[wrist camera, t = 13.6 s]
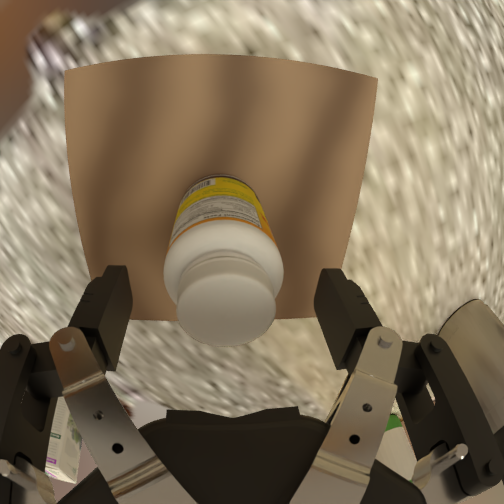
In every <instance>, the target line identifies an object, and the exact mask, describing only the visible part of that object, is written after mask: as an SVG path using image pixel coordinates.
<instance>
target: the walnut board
mask: <svg viewBox="0 0 504 504" xmlns="http://www.w3.org/2000/svg"><path fill="white" fill-rule="evenodd" d="M377 83H378V78H374V77H370V76H367V75H363V74H359V73H355V72H351V71H347V70H342V69H338V68H333V67H328V66H323V65H317V64H312V63H306V62H299V61H292V60H285V59H277V58H267V57H256V56H242V55H218V54H191V55H167V56H153V57H142V58H133V59H125V60H118V61H111V62H105V63H99V64H94V65H89V66H84V67H79V68H74V69H70V70H66V71H65V80H64V105H65V130H66V144H67V155H68V164H69V173H70V180H71V187H72V194H73V200H74V206H75V212H76V217H77V222H78V227H79V232H80V236H81V241H82V245H83V250H84V254H85V258H86V262H87V266H88V269H89V273H90V277H91V280H93V279H95V278H96V277H102V275H103V273H104V271H105V269H106V267H107V266H108V265H125V266H126V267H127V270H128V276H129V281H130V286H131V291H132V296H133V307H132V312H131V315H130V318H129V319H131V320H161V321H178V318H177V313H176V307H177V305H176V304H175V303H174V302H173V300H172V299H171V298H170V296H169V294H168V292H167V289H166V287H165V283H164V274H163V272H164V264H165V258H166V253H167V249H168V245H169V241H170V238H171V234H172V230H173V226H174V223H175V219H176V216H177V212H178V209H179V205H180V202H181V200H182V198H183V196H184V194H185V193H186V191H187V190H188V189H189V188H190V187H191V186H192V185H193V184H194V183H196V182H197V181H199V180H200V179H203V178H205V177H208V176H212V175H229V176H233V177H236V178H238V179H240V180H242V181H244V182H245V183H247V184H248V185H249V186H250V187H251V188H252V189H253V190H254V192H255V193H256V195H257V197H258V199H259V201H260V203H261V206H262V209H263V211H264V214H265V216H266V219H267V221H268V224H269V227H270V229H271V232H272V234H273V237H274V239H275V242H276V245H277V247H278V250H279V252H280V255H281V259H282V262H283V269H284V274H283V282H282V285H281V288H280V291H279V293H278V295H277V296H276V298H275V303H276V314H275V318H274V319H292V318H309V317H317V316H316V313H315V310H314V295H315V292H316V288H317V284H318V280H319V276H320V272H321V270H322V269H323V268H340V269H341V268H342V264H343V260H344V257H345V253H346V249H347V245H348V241H349V237H350V233H351V229H352V225H353V221H354V216H355V212H356V208H357V203H358V198H359V194H360V189H361V184H362V179H363V174H364V169H365V164H366V158H367V153H368V147H369V141H370V135H371V128H372V122H373V115H374V107H375V100H376V92H377Z"/></svg>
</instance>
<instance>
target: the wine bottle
mask: <svg viewBox="0 0 504 504" xmlns="http://www.w3.org/2000/svg"><path fill="white" fill-rule="evenodd" d="M375 459H377V460H378V461H380V462H381V463H383V464H384V465H386V466H387V467H389V468H390V469H392V470H393V471H395V472H396V473H398V474H399V475H401V476H402V477H404V478H405V479H407V480H408V481H410V482H412V476H413V474H414V468H415V465H416V463H417V461H416V458H415V456H414V453H413V451H412V448H411V446H410V443H409V441H408V439H407V436H406V434H405V431H404V429H403V427H402V425H401V422H400V420H399V418H398V417H397V416H396V415H390V417H389V420H388V423H387V426H386V429H385V432H384V435H383V438H382V441H381V444H380V447H379V449H378V452H377V455H376V457H375Z"/></svg>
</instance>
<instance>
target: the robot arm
mask: <svg viewBox="0 0 504 504" xmlns="http://www.w3.org/2000/svg"><path fill="white" fill-rule="evenodd" d="M132 307H133V296H132V291H131V286H130V281H129V276H128V270H127V267H126V266H125V265H108V266H107V267H106V269H105V271H104V273H103V275H102V277H96V278H95V279H93V280H92V281H91V282H90V283H89V284H88V286H87V287H86V289H85V291H84V295H82V297H81V299H80V302H79V303H78V306H77V308H76V310H75V312H74V314H73V316H72V318H71V320H70V323H69V325H68V327H65V328H62V329H60V330H58V331H57V332H55V333H54V334H53V336H52V337H51V339H50V341H49V342H43V343H37V344H31V342H30V340H29V339H28V337H27V336H25V335H22V334H16V335H13V336H11V337H9V338H8V339H7V340H6V341H5V342H4V343H3V345H2V347H1V349H0V504H459V503H461V502H464V501H466V500H467V499H470V498H472V497H474V496H476V495H478V494H480V493H482V492H484V491H486V490H488V489H490V488H491V487H493V486H495V485H497V484H498V483H499V482H500V480H501V479H502V481H503V484H504V325H503V323H502V322H501V321H500V320H499V318H498V317H497V316H496V315H495V314H494V312H493V311H492V310H491V309H490V308H489V307H488V305H485V304H484V303H483V302H482V301H481V300H473V301H471V302H469V303H467V304H466V305H464V306H463V307H461V308H460V309H459V310H458V311H457V312H456V313H454V314H453V316H452V317H451V318H450V319H449V320H448V321H447V322H446V324H445V325H444V326H443V328H442V329H441V331H440V333H439V336H437V335H435V334H426V335H424V336H423V337H422V338H421V340H420V342H419V343H415V342H408V341H402V339H401V337H400V336H399V335H398V334H397V333H396V332H395V331H394V330H392V329H390V328H387V327H383V326H382V324H381V322H380V321H379V319H378V317H377V315H376V314H375V312H374V310H373V308H372V307H371V305H370V304H369V302H368V300H367V298H366V297H365V295H364V293H363V292H362V290H361V288H360V287H359V286H358V285H357V284H356V283H354V282H353V281H352V280H347V278H346V277H345V275H344V273H343V271H342V270H341V269H340V268H323V269H322V270H321V272H320V276H319V280H318V284H317V288H316V292H315V295H314V310H315V313H316V316H317V318H318V321H319V324H320V326H321V329H322V332H323V334H324V337H325V340H326V342H327V345H328V348H329V350H330V353H331V356H332V359H333V361H334V364H335V367H336V370H341V369H347V371H348V375H347V377H346V379H345V381H344V383H343V385H342V387H341V390H340V392H339V394H338V396H337V398H336V400H335V402H334V404H333V407H332V409H331V411H330V412H329V414H328V416H327V418H326V419H325V421H324V422H323V421H321V420H319V419H316V418H313V417H310V416H305V415H300V413H299V409H298V406H296V407H286V408H275V409H265V410H262V411H259V412H255V413H252V414H248V415H244V416H241V417H237V418H230V417H225V416H220V415H215V414H211V413H206V412H202V411H187V410H167V415H166V418H163V419H159V420H156V421H153V422H150V423H148V424H146V425H144V426H142V427H140V428H139V429H137V428H136V426H135V425H134V423H133V422H132V420H131V419H130V417H129V416H128V414H127V413H126V411H125V409H124V408H123V406H122V405H121V403H120V401H119V400H118V398H117V396H116V395H115V393H114V391H113V390H112V388H111V386H110V384H109V382H108V381H107V379H106V377H105V373H106V370H107V371H115V372H116V367H117V363H118V359H119V355H120V351H121V347H122V344H123V340H124V336H125V333H126V329H127V325H128V322H129V318H130V315H131V312H132ZM428 383H429V385H430V387H431V390H432V392H433V394H434V396H435V406H434V403H433V401H432V399H431V396H430V394H429V392H428V390H427V387H426V385H427V384H428ZM23 395H24V396H23ZM58 397H64V399H65V402H66V404H67V406H68V409H69V411H70V413H71V416H72V418H73V420H74V422H75V424H76V426H77V429H78V431H79V433H80V435H81V437H82V439H83V440H84V442H85V444H86V446H87V448H88V450H89V452H90V454H91V456H92V457H93V459H94V461H95V463H96V464H97V466H98V467H97V468H95V469H94V470H93V471H92V472H91V473H90V474H89V475H88V476H87V477H86V478H84V479H83V480H82V481H81V482H80V483H79V484H78V485H77V486H76V487H74V488H73V489H72V490H71V491H70V492H69V493H68V494H66V495H65V496H64V497H63V498H62V499H61V500H60V501H59V502H58V503H57V502H56V500H55V498H54V490H53V486H52V483H51V480H50V479H49V477H48V476H47V475H46V474H45V467H46V459H47V452H48V446H49V440H50V434H51V429H52V424H53V419H54V414H55V409H56V405H57V401H58ZM395 398H396V401H397V404H398V406H399V409H400V412H401V415H402V417H403V420H404V422H405V426H406V429H407V432H408V435H409V437H410V441H411V443H412V446H413V450H414V453H415V456H416V459H417V463H416V465H415V468H414V474H413V476H412V482H410V481H408V480H407V479H405V478H404V477H402V476H401V475H399V474H398V473H396V472H395V471H393V470H392V469H390V468H389V467H387V466H386V465H384V464H383V463H381V462H380V461H378V460H377V459H375V457H376V455H377V452H378V449H379V447H380V444H381V441H382V438H383V435H384V432H385V429H386V426H387V423H388V420H389V417H390V413H391V410H392V406H393V403H394V399H395ZM21 402H22V403H21Z"/></svg>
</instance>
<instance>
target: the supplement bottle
mask: <svg viewBox="0 0 504 504" xmlns="http://www.w3.org/2000/svg"><path fill="white" fill-rule="evenodd" d="M163 274H164V283H165V287H166V289H167V292H168V294H169V296H170V298H171V299H172V300H173V302H174V303H175V304H176V305H177V307H176V313H177V318H178V321H179V323H180V325H181V327H182V328H183V330H184V331H185V332H186V333H187V334H188V335H190V336H191V337H192V338H194V339H195V340H197V341H199V342H201V343H204V344H208V345H211V346H217V347H232V346H238V345H243V344H246V343H249V342H251V341H253V340H255V339H257V338H258V337H260V336H261V335H262V334H264V333H265V332H266V331H267V330H268V328H269V327H270V326H271V324H272V322H273V321H274V318H275V314H276V303H275V298H276V296H277V295H278V293H279V291H280V288H281V285H282V282H283V274H284V269H283V262H282V259H281V255H280V252H279V250H278V247H277V245H276V242H275V239H274V237H273V234H272V232H271V229H270V227H269V224H268V221H267V219H266V216H265V214H264V211H263V209H262V206H261V203H260V201H259V199H258V197H257V195H256V193H255V192H254V190H253V189H252V188H251V187H250V186H249V185H248V184H247V183H245V182H244V181H242V180H240V179H238V178H236V177H233V176H229V175H212V176H208V177H205V178H203V179H200V180H199V181H197V182H196V183H194V184H193V185H192V186H191V187H190V188H189V189H188V190H187V191H186V193H185V194H184V196H183V198H182V200H181V202H180V205H179V209H178V212H177V216H176V219H175V223H174V226H173V230H172V234H171V238H170V241H169V245H168V249H167V253H166V258H165V264H164V272H163Z"/></svg>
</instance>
